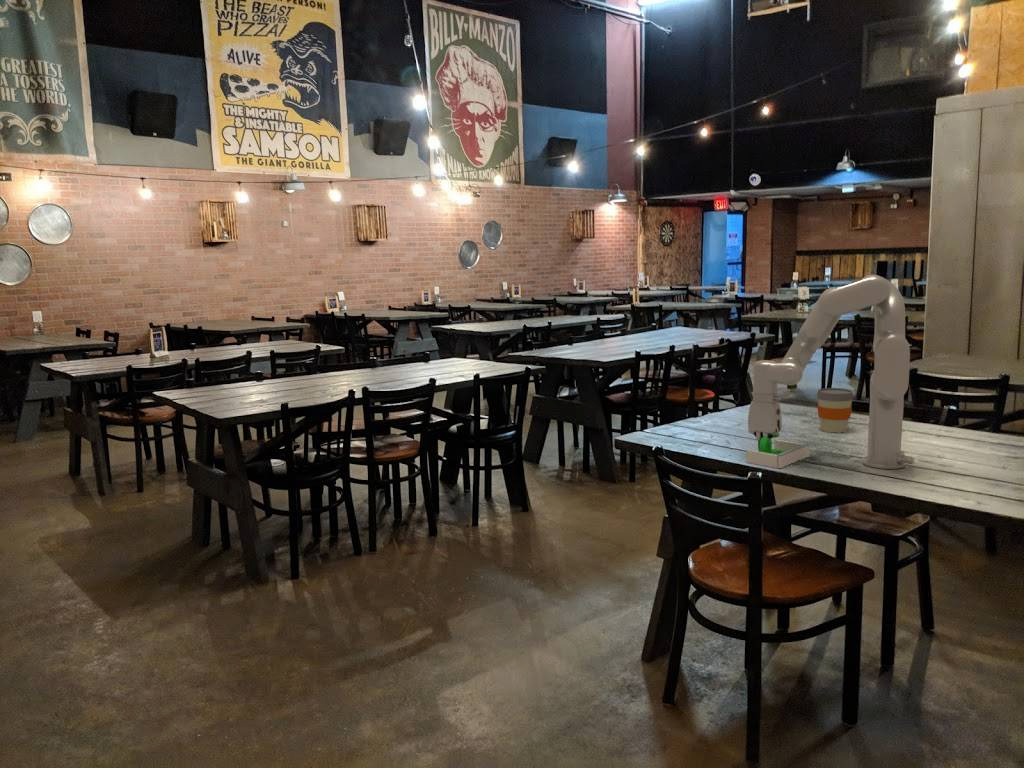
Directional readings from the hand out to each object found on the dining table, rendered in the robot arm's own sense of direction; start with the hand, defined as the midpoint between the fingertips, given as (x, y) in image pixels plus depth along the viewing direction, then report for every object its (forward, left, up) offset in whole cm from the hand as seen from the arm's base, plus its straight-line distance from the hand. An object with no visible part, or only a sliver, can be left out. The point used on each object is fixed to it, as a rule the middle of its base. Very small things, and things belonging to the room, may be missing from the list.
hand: (763, 452), depth 261 cm
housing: (-5, 0, -2) cm, 5 cm away
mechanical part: (-5, +1, -2) cm, 5 cm away
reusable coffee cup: (-1, -51, -2) cm, 51 cm away
